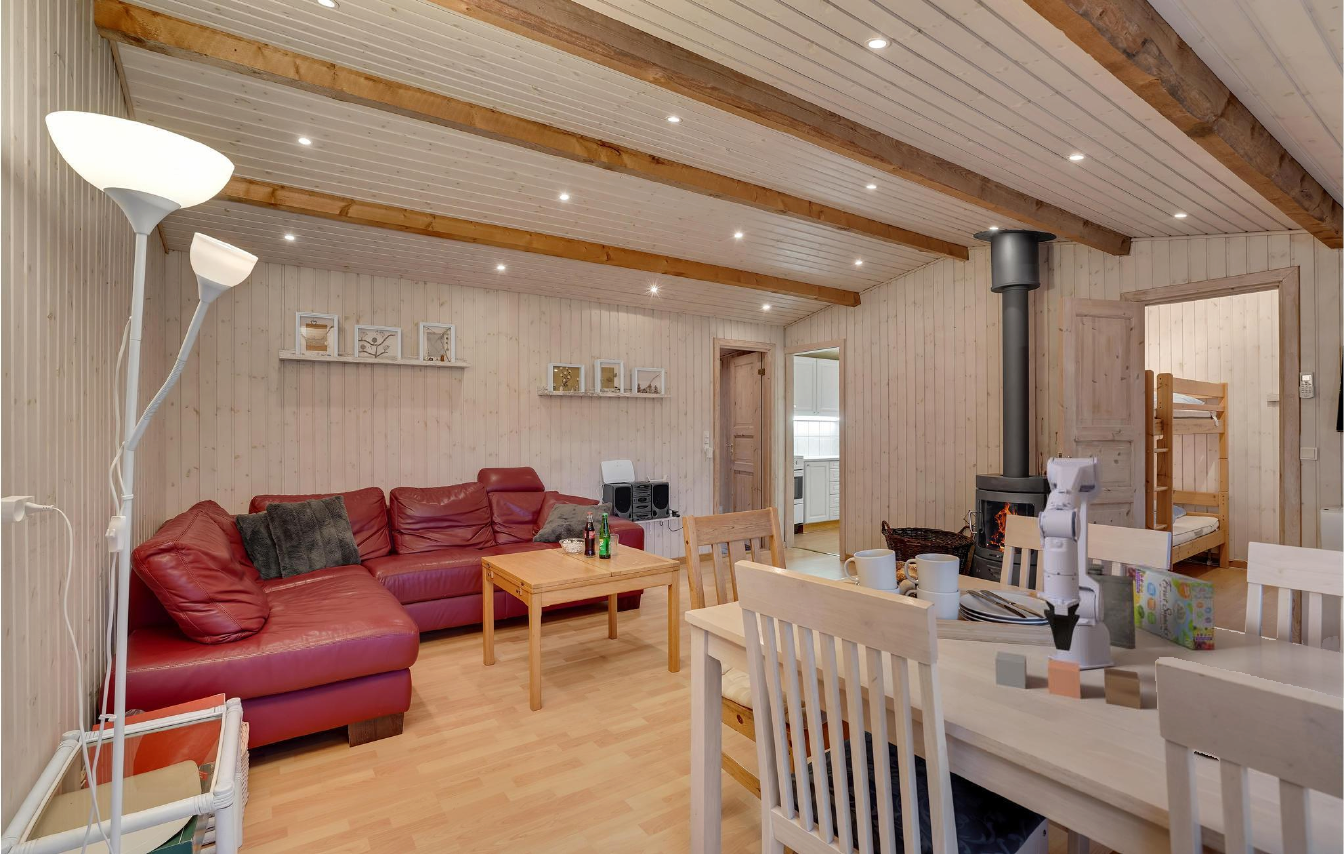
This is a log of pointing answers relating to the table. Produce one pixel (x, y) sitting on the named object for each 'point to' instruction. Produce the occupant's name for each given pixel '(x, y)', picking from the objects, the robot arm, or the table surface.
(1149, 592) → the snack box
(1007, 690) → the table surface
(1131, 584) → the dark grey slab
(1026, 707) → the table surface
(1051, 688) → the terracotta block
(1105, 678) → the walnut block
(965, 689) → the table surface
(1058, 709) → the table surface
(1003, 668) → the slate block
